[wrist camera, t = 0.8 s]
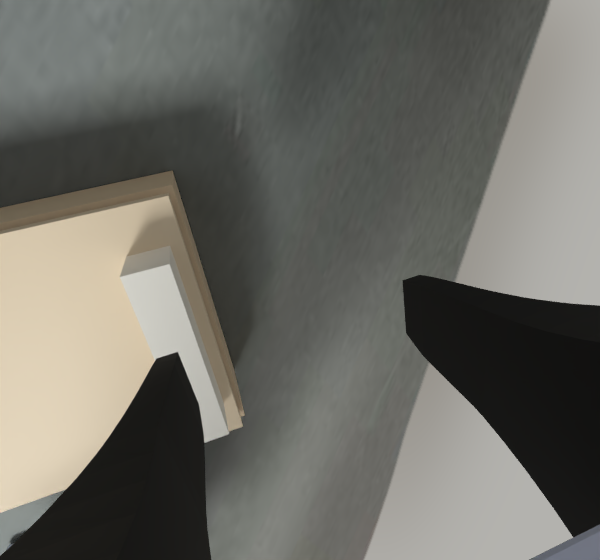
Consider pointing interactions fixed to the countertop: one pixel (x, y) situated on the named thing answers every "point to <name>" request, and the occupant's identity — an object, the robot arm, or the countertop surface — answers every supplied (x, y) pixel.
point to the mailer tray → (117, 195)
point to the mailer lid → (95, 338)
